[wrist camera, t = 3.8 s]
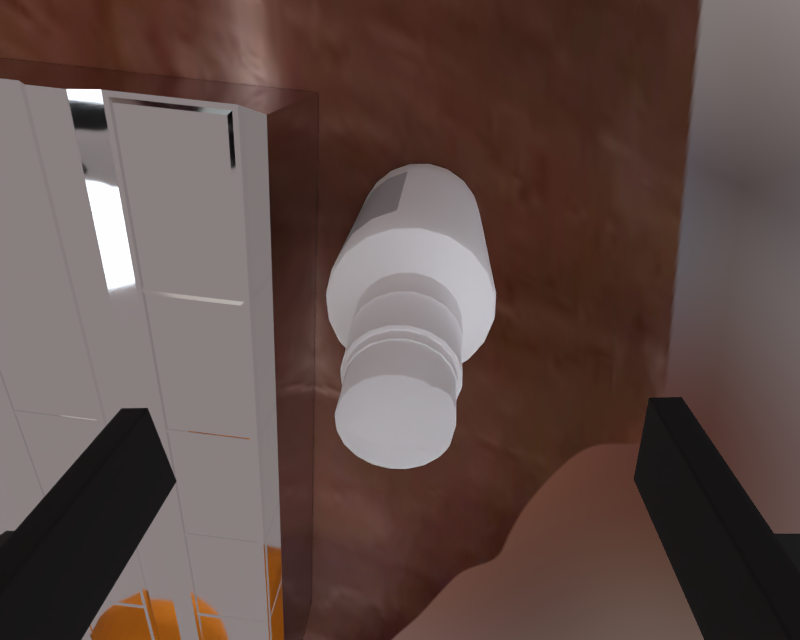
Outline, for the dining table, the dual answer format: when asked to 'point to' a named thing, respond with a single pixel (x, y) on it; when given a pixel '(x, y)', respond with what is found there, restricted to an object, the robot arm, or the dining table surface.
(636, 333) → the dining table surface
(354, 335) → the white bottle
